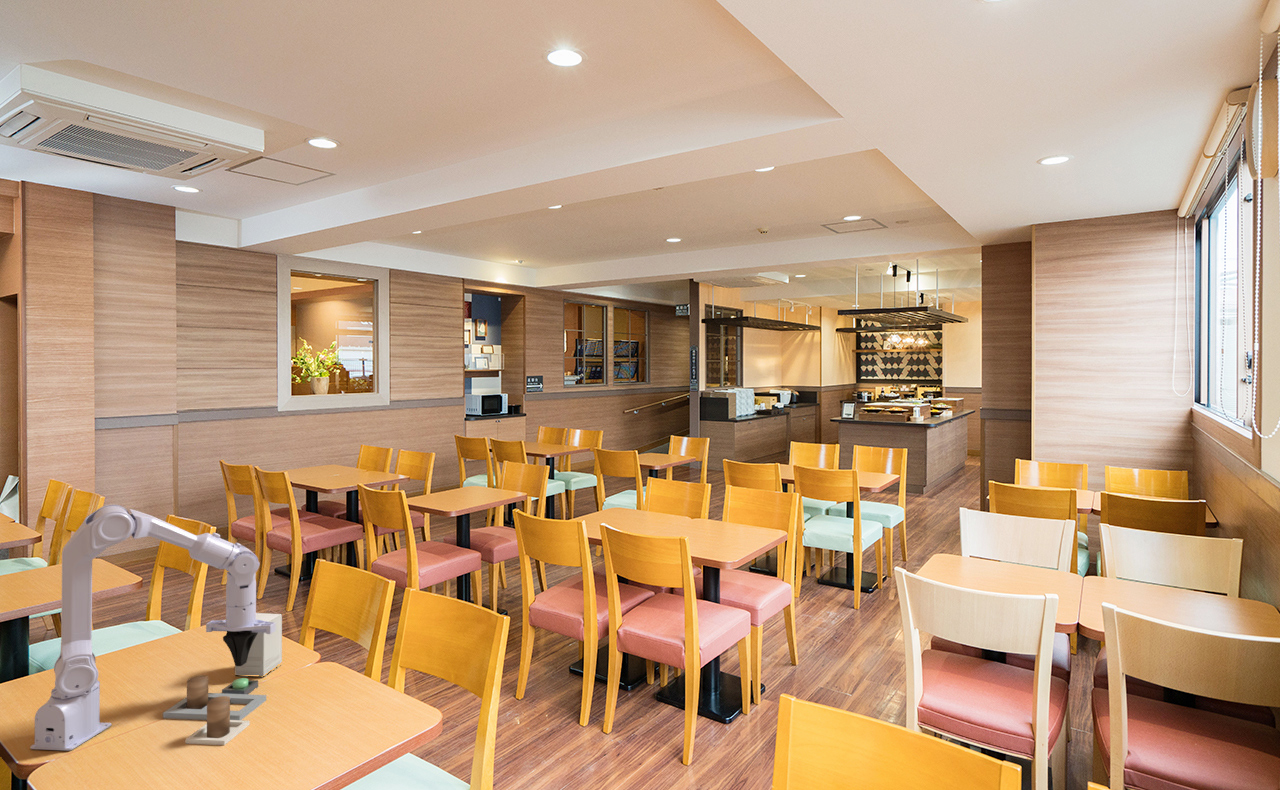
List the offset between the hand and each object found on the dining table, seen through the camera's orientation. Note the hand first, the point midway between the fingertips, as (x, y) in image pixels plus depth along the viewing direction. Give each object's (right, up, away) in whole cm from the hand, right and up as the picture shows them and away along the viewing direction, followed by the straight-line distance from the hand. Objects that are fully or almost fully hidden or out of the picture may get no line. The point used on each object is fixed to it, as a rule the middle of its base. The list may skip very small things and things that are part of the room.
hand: (240, 664), depth 149 cm
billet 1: (-4, -7, -8) cm, 11 cm away
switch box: (0, -6, 0) cm, 6 cm away
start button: (0, -6, 0) cm, 6 cm away
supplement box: (-3, -6, +12) cm, 14 cm away
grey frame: (0, -7, -8) cm, 10 cm away
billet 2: (+6, -7, -18) cm, 20 cm away
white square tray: (+6, -7, -18) cm, 20 cm away
